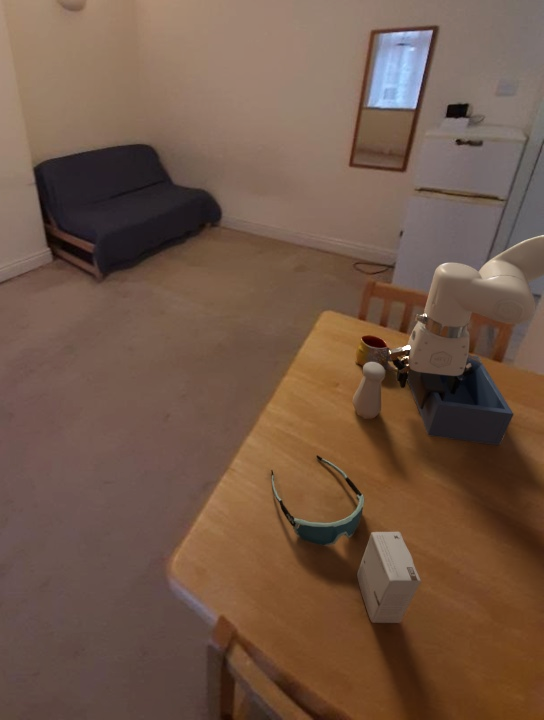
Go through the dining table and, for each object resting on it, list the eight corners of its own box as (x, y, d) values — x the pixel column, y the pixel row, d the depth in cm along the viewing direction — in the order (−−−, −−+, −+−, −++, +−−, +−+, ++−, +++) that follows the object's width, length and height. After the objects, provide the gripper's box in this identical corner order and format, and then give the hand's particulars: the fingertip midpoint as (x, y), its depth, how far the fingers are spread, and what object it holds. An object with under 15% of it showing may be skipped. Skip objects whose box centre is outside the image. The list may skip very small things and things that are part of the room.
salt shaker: (370, 427, 85) (381, 381, 80) (345, 410, 90) (354, 366, 84) (384, 412, 89) (395, 367, 83) (359, 396, 93) (368, 353, 87)
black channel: (424, 376, 92) (430, 356, 90) (439, 411, 84) (446, 391, 81) (407, 374, 93) (412, 354, 91) (420, 408, 84) (426, 388, 82)
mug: (350, 362, 103) (354, 341, 100) (362, 348, 107) (366, 328, 104) (399, 386, 95) (405, 365, 92) (410, 371, 99) (416, 350, 96)
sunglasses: (304, 561, 64) (304, 538, 62) (261, 482, 78) (261, 462, 76) (378, 531, 67) (381, 509, 66) (325, 461, 81) (326, 441, 79)
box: (467, 385, 94) (478, 356, 91) (499, 445, 81) (513, 414, 77) (407, 378, 97) (414, 349, 93) (427, 435, 83) (438, 404, 79)
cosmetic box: (355, 574, 62) (367, 529, 57) (384, 574, 62) (399, 528, 57) (371, 626, 57) (387, 581, 51) (403, 626, 57) (422, 580, 51)
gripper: (401, 330, 79) (386, 394, 86) (502, 339, 75) (477, 405, 82) (392, 307, 85) (378, 368, 93) (485, 315, 82) (462, 378, 89)
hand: (425, 386), depth 88 cm, fingers open, 9 cm apart
